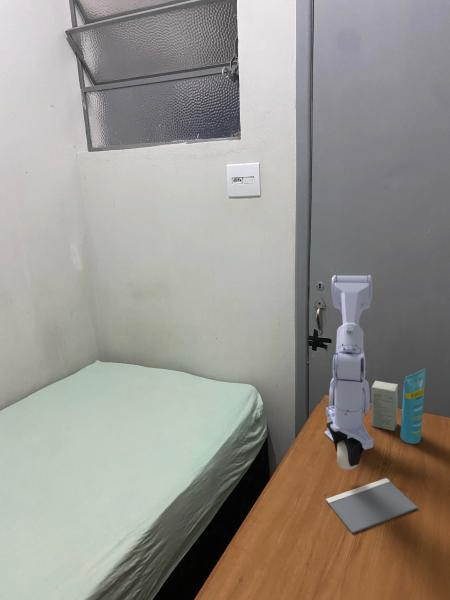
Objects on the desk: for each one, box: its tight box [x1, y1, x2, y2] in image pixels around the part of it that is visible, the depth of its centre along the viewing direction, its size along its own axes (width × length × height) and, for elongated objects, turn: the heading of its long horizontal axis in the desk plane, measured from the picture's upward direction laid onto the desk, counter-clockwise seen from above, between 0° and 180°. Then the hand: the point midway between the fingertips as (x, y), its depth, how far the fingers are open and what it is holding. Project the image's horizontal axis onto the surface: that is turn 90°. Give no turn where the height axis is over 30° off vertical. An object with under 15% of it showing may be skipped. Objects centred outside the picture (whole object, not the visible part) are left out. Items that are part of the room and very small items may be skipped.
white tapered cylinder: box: [336, 441, 358, 471], centre depth 92 cm, size 4×4×4 cm
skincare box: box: [370, 380, 399, 432], centre depth 112 cm, size 6×4×12 cm
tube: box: [399, 367, 426, 445], centre depth 104 cm, size 7×5×19 cm, turn 123°
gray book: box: [325, 477, 418, 534], centre depth 87 cm, size 10×16×1 cm, turn 109°
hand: (347, 457), depth 93 cm, fingers closed on white tapered cylinder, 4 cm apart
